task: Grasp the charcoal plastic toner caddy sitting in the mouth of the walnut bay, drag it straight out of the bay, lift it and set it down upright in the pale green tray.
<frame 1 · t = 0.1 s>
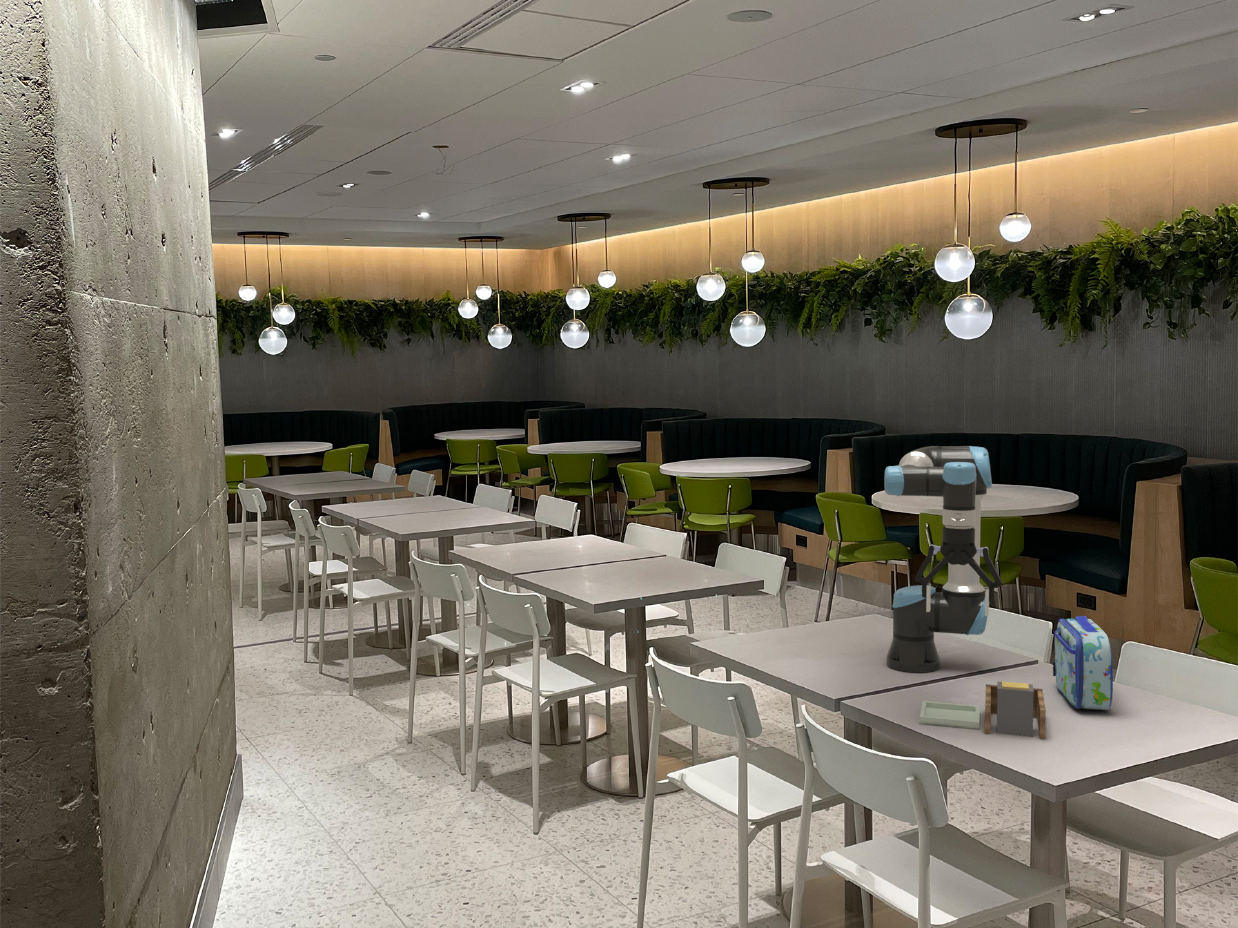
hand: (957, 612, 259), 28 cm above the table, fingers open, 13 cm apart
caddy: (1014, 730, 256), on the table
bay: (1014, 726, 259), on the table
lunch box: (1081, 700, 279), on the table
tray: (950, 718, 266), on the table
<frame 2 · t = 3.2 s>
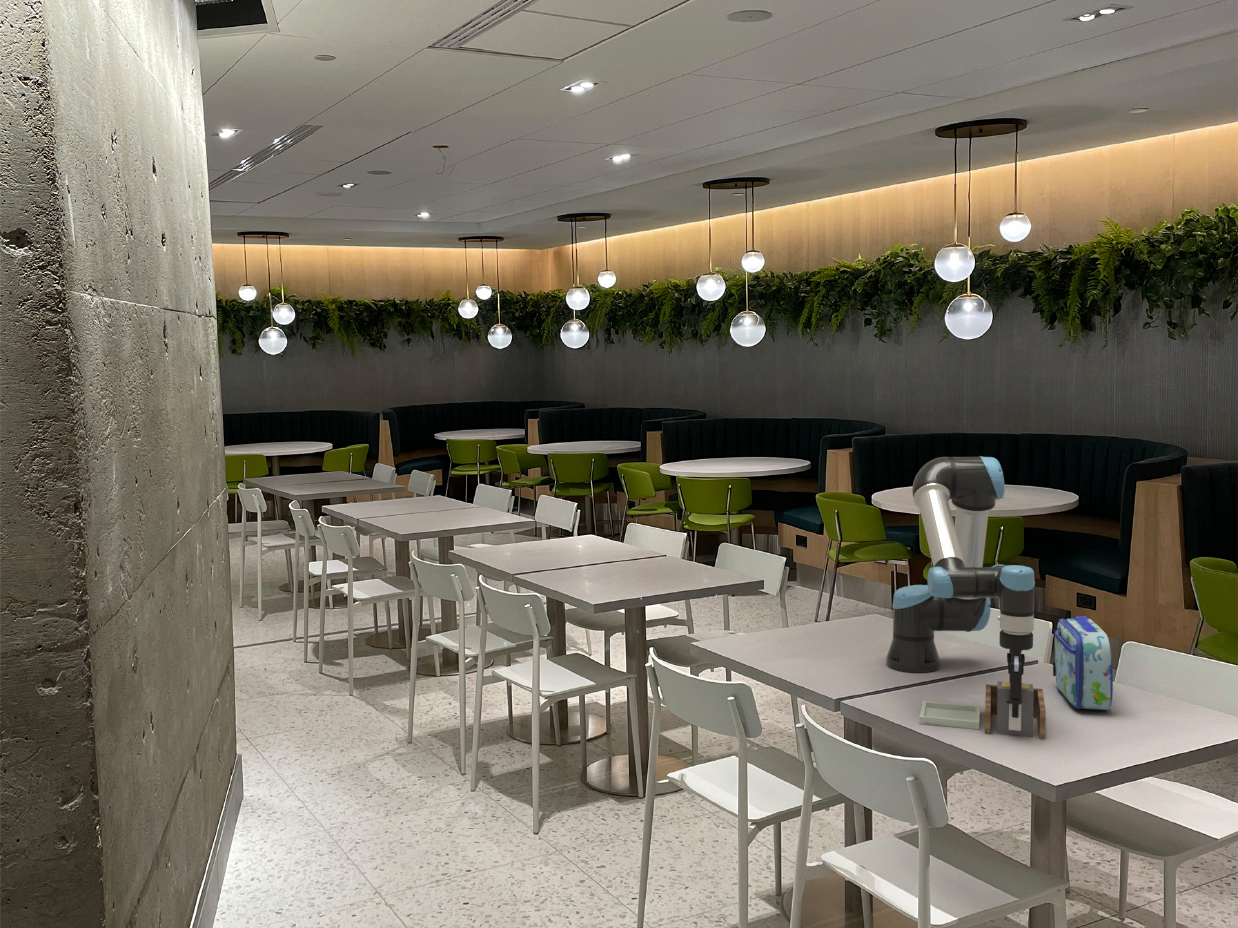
hand: (1014, 724, 256), 1 cm above the table, fingers closed on caddy, 6 cm apart
caddy: (1014, 730, 256), on the table, touching gripper
everything else where it was.
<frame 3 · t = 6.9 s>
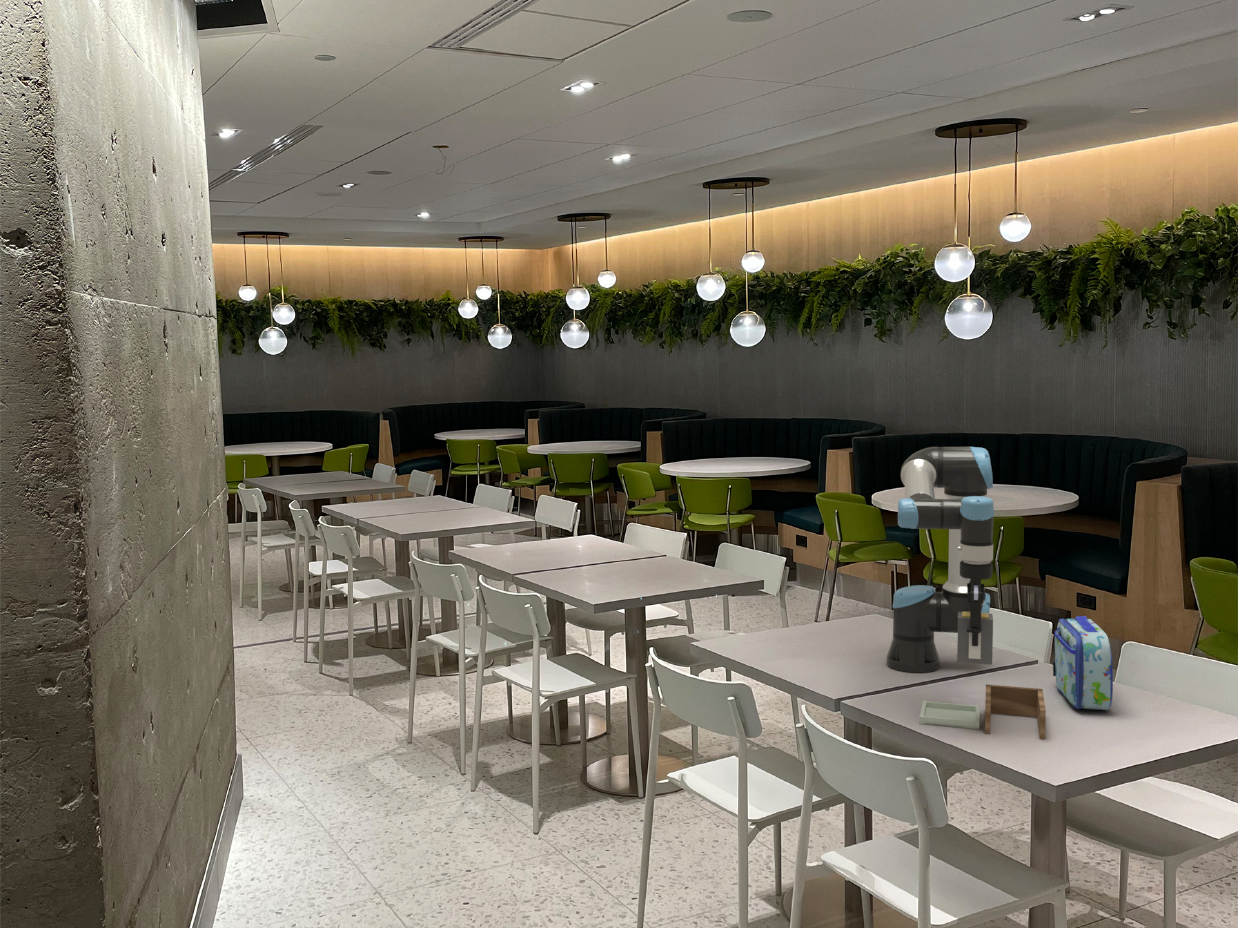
hand: (974, 654, 259), 18 cm above the table, fingers closed on caddy, 6 cm apart
caddy: (974, 659, 259), point 16 cm above the table, touching gripper
everything else where it was.
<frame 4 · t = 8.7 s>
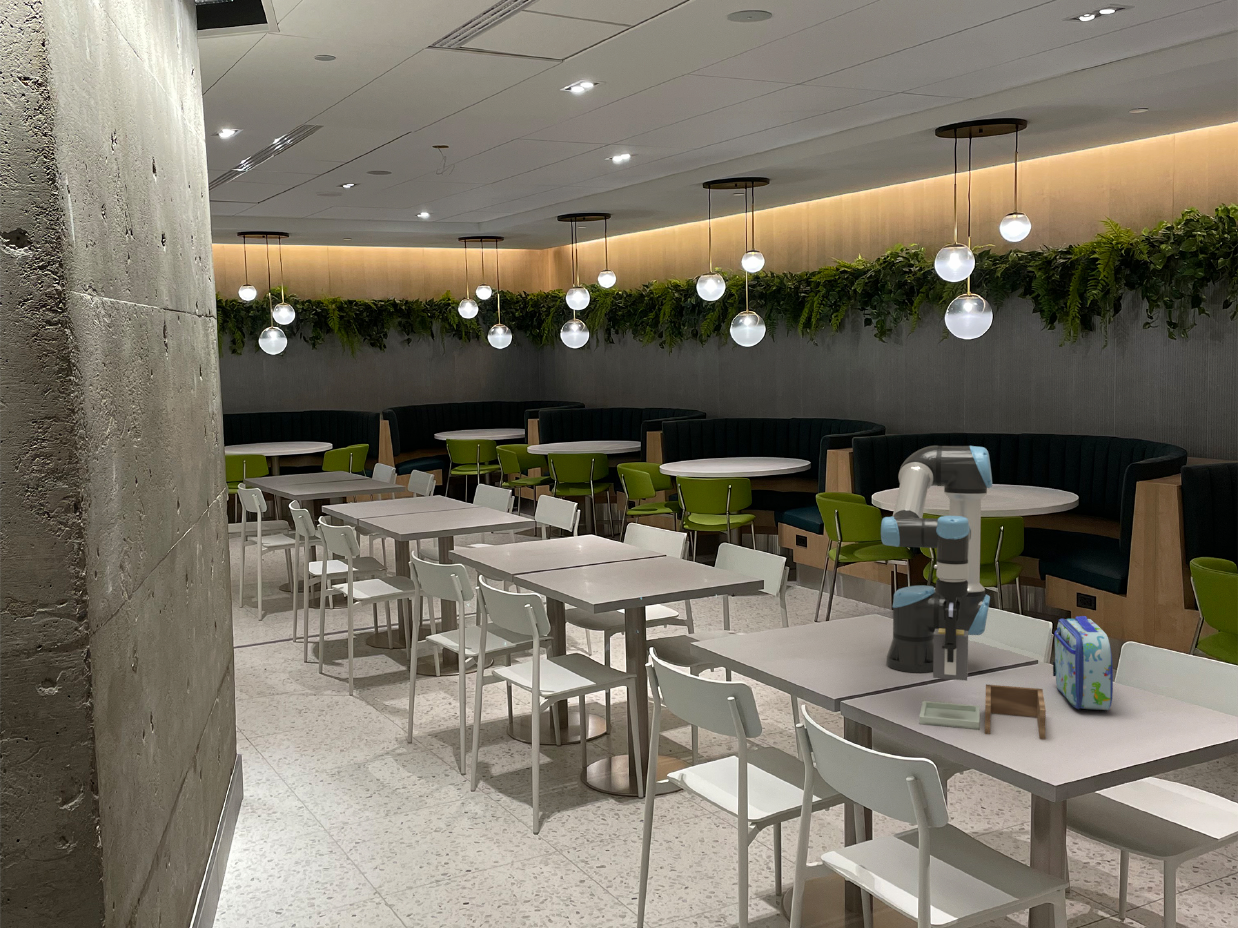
hand: (950, 670, 264), 12 cm above the table, fingers closed on caddy, 6 cm apart
caddy: (950, 675, 265), point 11 cm above the table, touching gripper
everything else where it was.
when the fingers open (4 cm above the table, at t = 10.5 s): caddy drops 2 cm, resting on tray.
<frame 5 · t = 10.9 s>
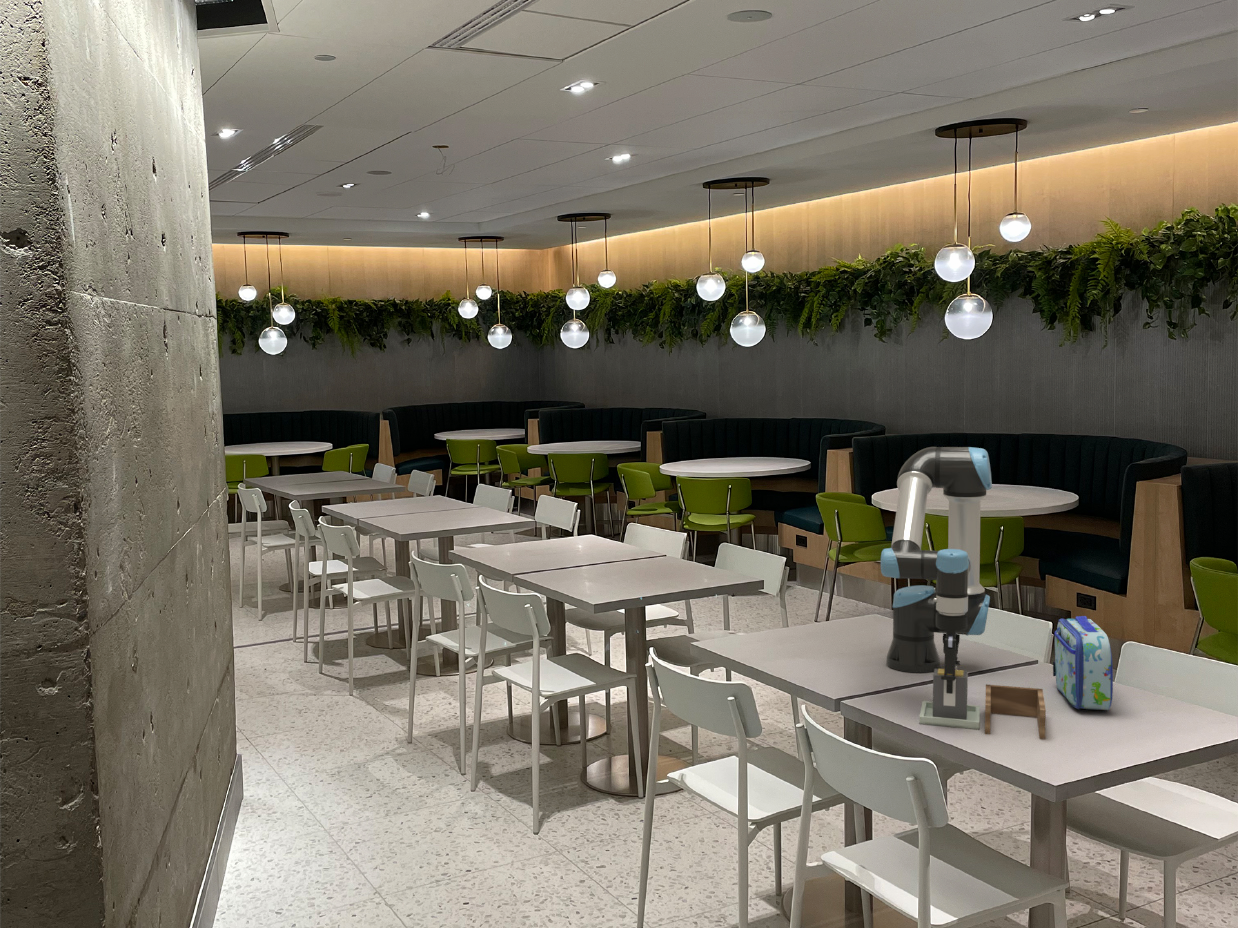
hand: (950, 697, 265), 5 cm above the table, fingers open, 11 cm apart
caddy: (949, 716, 266), resting on tray
everything else where it was.
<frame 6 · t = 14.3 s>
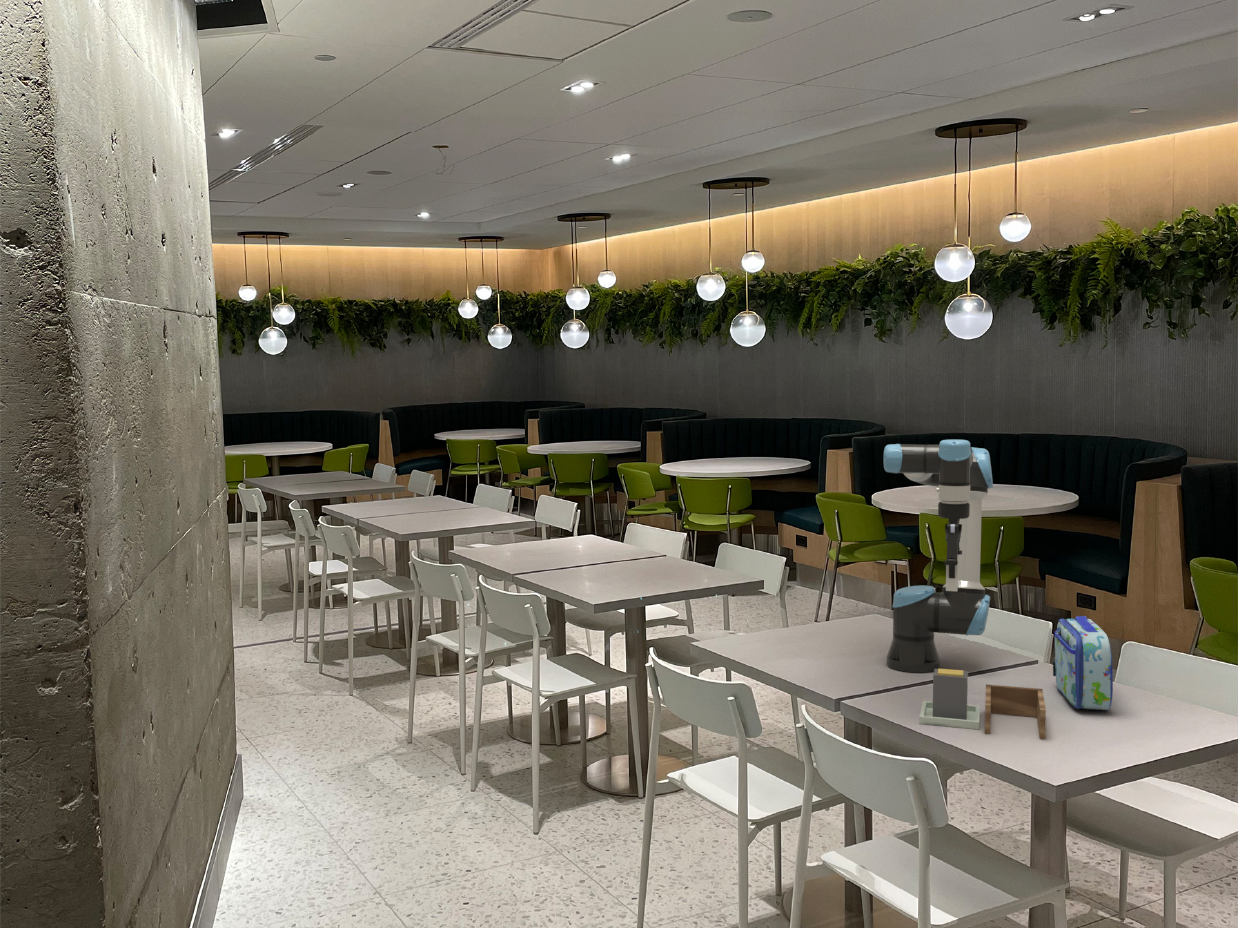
hand: (952, 585, 267), 33 cm above the table, fingers open, 13 cm apart
nothing on the table moved.
at the end: caddy inside the target area on the tray (0.1 cm from its centre), point 0.5 cm above the tray's base; caddy tilted 0°; the gripper is holding nothing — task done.
